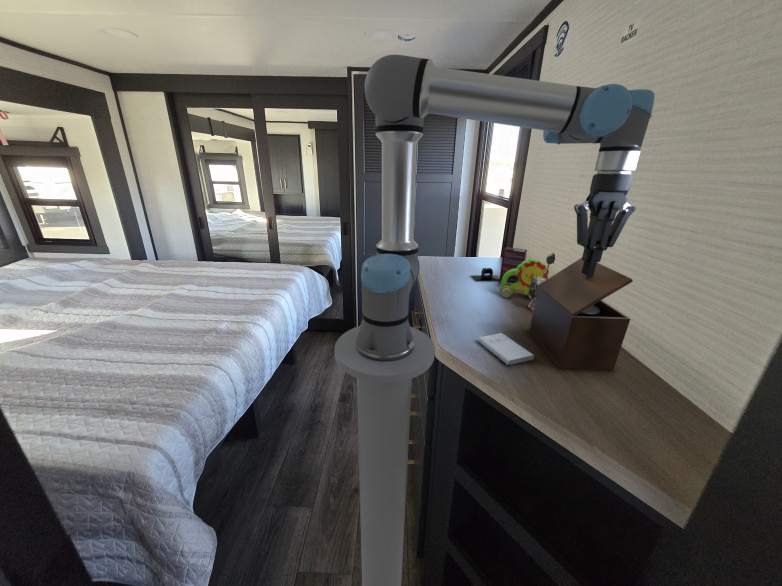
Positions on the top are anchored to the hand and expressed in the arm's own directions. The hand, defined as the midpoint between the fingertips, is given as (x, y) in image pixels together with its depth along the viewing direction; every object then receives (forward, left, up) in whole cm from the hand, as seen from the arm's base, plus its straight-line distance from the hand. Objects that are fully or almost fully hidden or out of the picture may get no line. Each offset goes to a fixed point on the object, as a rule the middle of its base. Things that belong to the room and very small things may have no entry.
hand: (587, 274), depth 78 cm
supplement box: (-47, +17, -22) cm, 55 cm away
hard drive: (-4, -18, -22) cm, 28 cm away
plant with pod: (-23, +11, -22) cm, 34 cm away
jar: (0, +1, -21) cm, 21 cm away
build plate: (-58, +13, -22) cm, 64 cm away
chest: (0, 0, -22) cm, 22 cm away
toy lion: (-35, +13, -22) cm, 44 cm away
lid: (0, -1, -3) cm, 3 cm away
